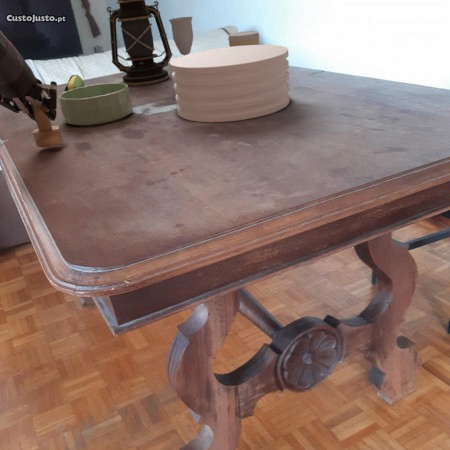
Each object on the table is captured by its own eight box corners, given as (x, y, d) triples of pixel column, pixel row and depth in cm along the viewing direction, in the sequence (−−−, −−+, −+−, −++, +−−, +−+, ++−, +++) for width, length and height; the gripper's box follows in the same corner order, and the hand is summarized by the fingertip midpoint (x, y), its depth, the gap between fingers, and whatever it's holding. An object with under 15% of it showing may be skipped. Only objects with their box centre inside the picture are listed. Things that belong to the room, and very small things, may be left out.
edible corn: (86, 87, 161) (83, 72, 159) (80, 99, 145) (76, 83, 142) (71, 89, 161) (67, 74, 158) (64, 101, 145) (59, 86, 142)
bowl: (61, 131, 116) (53, 103, 112) (69, 114, 130) (62, 88, 126) (133, 120, 117) (127, 92, 113) (133, 104, 131) (128, 79, 127)
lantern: (114, 89, 153) (89, -23, 136) (118, 80, 166) (96, -23, 148) (176, 81, 153) (159, -31, 136) (175, 73, 166) (160, -31, 149)
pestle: (34, 148, 101) (16, 94, 95) (39, 141, 105) (22, 88, 99) (61, 145, 101) (45, 90, 95) (64, 138, 106) (49, 85, 100)
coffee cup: (236, 74, 152) (233, 32, 145) (264, 73, 149) (262, 30, 142) (227, 81, 145) (223, 36, 138) (257, 79, 142) (254, 34, 135)
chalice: (177, 86, 147) (167, 19, 136) (199, 82, 147) (191, 16, 137) (180, 90, 141) (169, 20, 130) (202, 87, 141) (194, 17, 131)
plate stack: (200, 94, 133) (194, 49, 127) (299, 90, 125) (298, 41, 118) (159, 123, 112) (150, 70, 105) (275, 120, 103) (273, 63, 97)
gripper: (40, 42, 85) (77, 98, 102) (-34, 50, 86) (15, 104, 103) (39, 80, 84) (77, 130, 101) (-36, 87, 85) (14, 136, 102)
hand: (45, 117), depth 102 cm, fingers closed on pestle, 3 cm apart
